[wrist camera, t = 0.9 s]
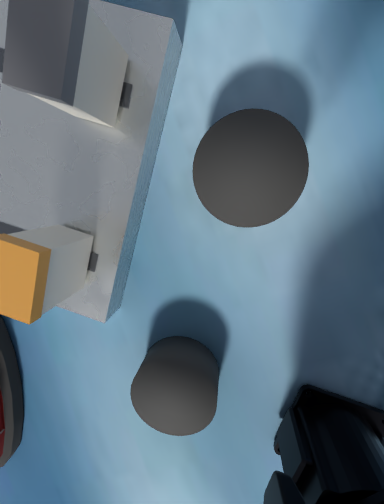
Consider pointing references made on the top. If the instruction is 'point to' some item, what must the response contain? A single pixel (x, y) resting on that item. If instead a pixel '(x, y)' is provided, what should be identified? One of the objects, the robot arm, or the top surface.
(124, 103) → the panel
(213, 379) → the coil
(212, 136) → the coil
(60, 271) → the switch
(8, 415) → the bumper car
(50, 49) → the switch
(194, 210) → the top surface
